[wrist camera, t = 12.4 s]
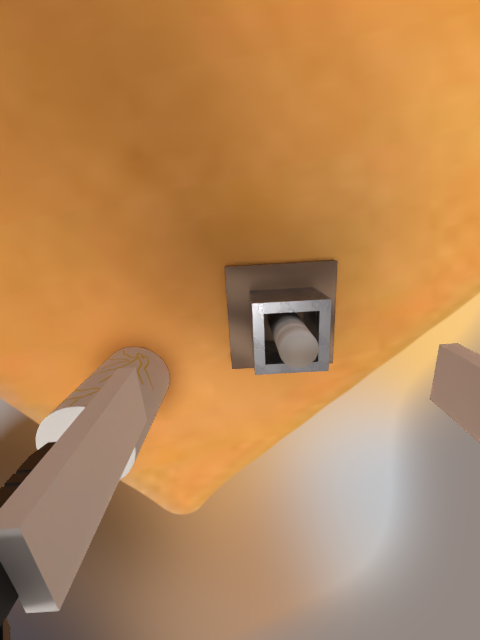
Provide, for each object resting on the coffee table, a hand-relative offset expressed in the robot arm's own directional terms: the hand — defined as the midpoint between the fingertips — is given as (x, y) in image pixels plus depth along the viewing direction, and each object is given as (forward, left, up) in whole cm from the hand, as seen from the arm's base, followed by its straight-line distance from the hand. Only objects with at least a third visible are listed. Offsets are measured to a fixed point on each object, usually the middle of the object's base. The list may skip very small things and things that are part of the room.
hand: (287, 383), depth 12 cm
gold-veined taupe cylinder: (+10, -15, -20) cm, 27 cm away
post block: (+3, +3, -20) cm, 20 cm away
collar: (+3, +3, -19) cm, 19 cm away
